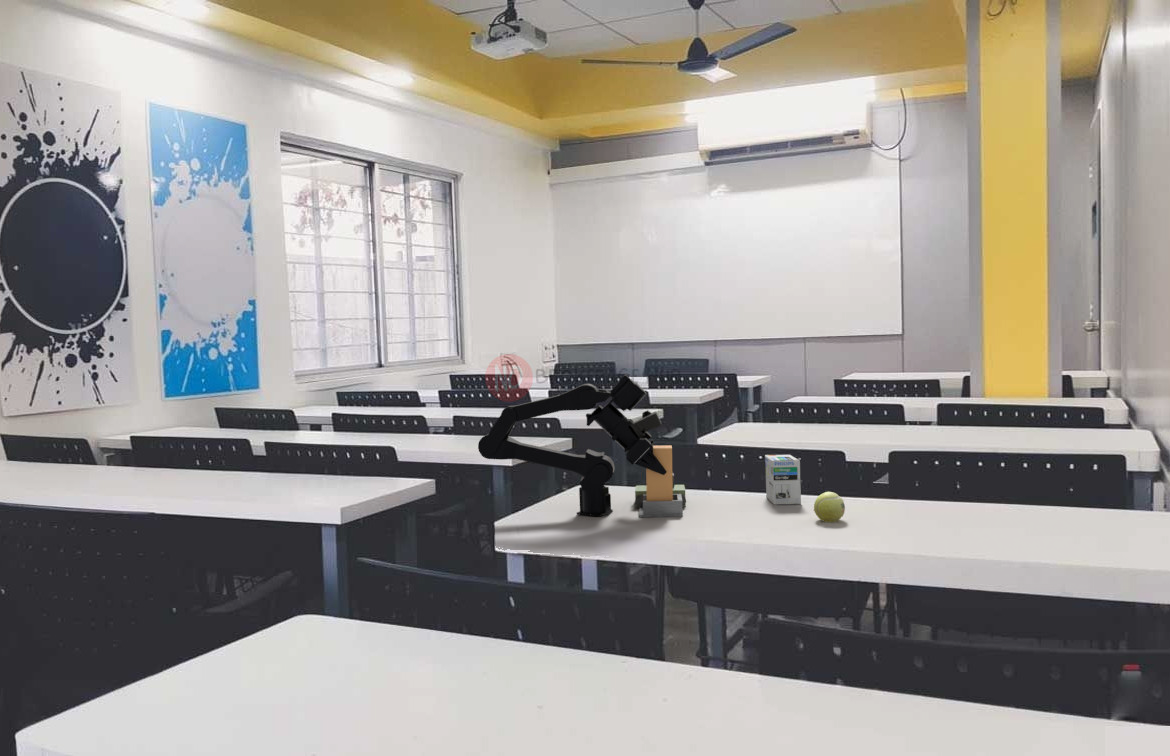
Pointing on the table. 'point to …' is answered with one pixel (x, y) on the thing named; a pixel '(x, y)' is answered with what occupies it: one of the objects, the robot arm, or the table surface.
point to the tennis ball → (829, 507)
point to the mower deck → (642, 491)
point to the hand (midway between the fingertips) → (665, 471)
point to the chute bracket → (662, 507)
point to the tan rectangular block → (660, 476)
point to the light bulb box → (783, 479)
